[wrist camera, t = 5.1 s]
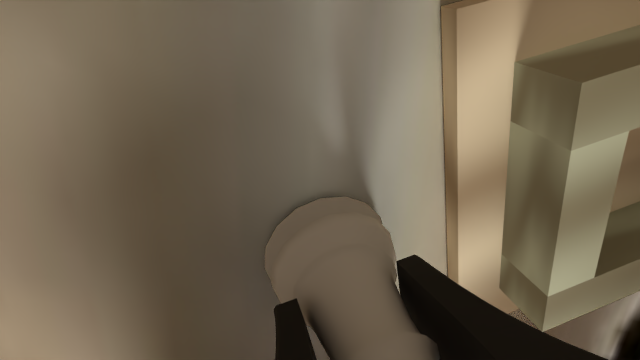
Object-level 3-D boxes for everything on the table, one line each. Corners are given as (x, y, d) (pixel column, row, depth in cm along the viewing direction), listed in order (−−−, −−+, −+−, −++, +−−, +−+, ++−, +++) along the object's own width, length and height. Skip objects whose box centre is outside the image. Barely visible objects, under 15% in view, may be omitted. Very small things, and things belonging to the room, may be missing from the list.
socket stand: (685, 225, 21) (761, 265, 19) (448, 320, 19) (494, 382, 16) (801, -89, 14) (954, -101, 11) (441, 6, 12) (520, 21, 9)
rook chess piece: (313, 166, 13) (454, 386, 6) (402, 221, 15) (575, 427, 9) (235, 266, 14) (287, 550, 7) (329, 304, 16) (435, 548, 10)
